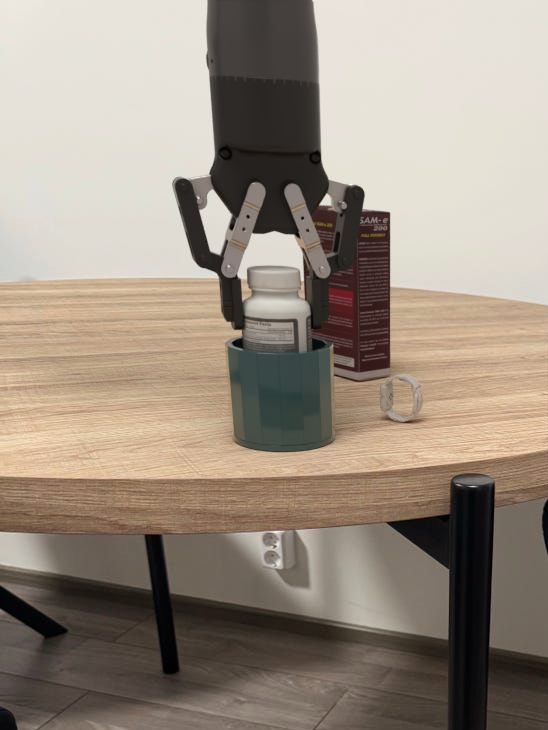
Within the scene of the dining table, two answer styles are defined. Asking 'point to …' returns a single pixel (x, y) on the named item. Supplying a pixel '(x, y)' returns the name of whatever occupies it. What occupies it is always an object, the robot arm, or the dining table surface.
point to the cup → (281, 396)
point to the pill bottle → (276, 311)
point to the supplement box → (358, 297)
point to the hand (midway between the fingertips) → (277, 327)
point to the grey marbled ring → (387, 397)
